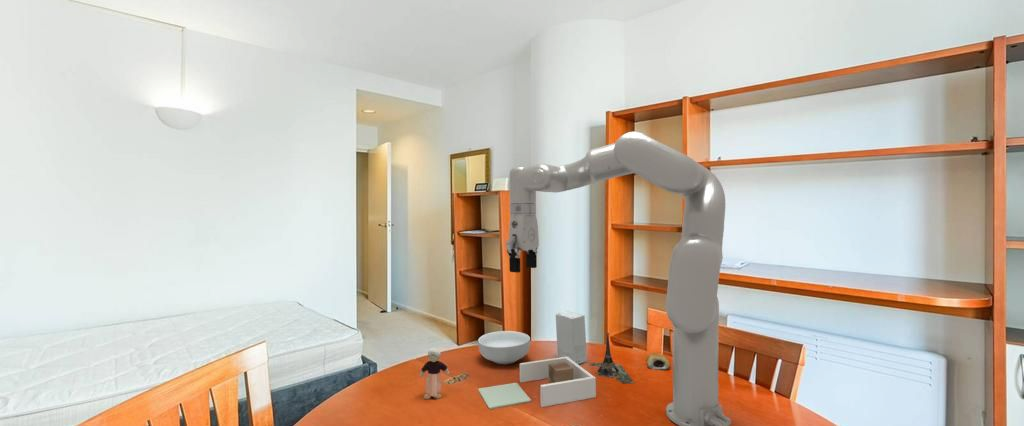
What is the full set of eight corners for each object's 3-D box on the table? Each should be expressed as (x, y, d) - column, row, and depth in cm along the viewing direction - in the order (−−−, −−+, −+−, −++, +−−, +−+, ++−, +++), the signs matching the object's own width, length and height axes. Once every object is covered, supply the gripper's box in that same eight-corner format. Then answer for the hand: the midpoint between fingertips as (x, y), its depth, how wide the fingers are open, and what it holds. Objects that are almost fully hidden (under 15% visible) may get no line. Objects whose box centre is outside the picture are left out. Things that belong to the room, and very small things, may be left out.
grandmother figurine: (420, 401, 101) (419, 351, 101) (419, 395, 105) (418, 346, 105) (450, 397, 103) (449, 348, 103) (448, 391, 107) (448, 344, 107)
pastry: (645, 358, 130) (645, 346, 130) (667, 360, 128) (667, 348, 128) (647, 369, 121) (647, 357, 121) (671, 372, 119) (671, 359, 119)
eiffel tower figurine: (635, 385, 111) (635, 337, 111) (599, 385, 110) (598, 337, 110) (619, 364, 126) (618, 321, 126) (587, 365, 125) (586, 322, 125)
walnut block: (573, 390, 107) (573, 368, 107) (556, 393, 105) (556, 370, 105) (565, 383, 112) (564, 361, 112) (548, 385, 110) (548, 364, 110)
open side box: (595, 397, 103) (595, 377, 103) (542, 407, 98) (542, 386, 98) (567, 373, 118) (567, 356, 118) (519, 381, 113) (519, 363, 113)
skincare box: (587, 362, 127) (586, 315, 126) (573, 366, 123) (572, 318, 123) (569, 354, 134) (569, 310, 133) (555, 358, 130) (555, 312, 130)
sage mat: (531, 401, 101) (531, 400, 101) (489, 409, 97) (489, 407, 97) (516, 383, 111) (516, 382, 111) (478, 390, 108) (478, 388, 108)
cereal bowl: (509, 347, 141) (509, 327, 141) (541, 361, 128) (540, 339, 128) (468, 358, 131) (468, 336, 131) (498, 374, 118) (497, 350, 118)
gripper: (519, 210, 105) (520, 275, 105) (547, 210, 120) (548, 266, 120) (495, 210, 109) (496, 273, 109) (525, 210, 124) (526, 265, 124)
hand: (523, 269), depth 115 cm, fingers open, 9 cm apart
